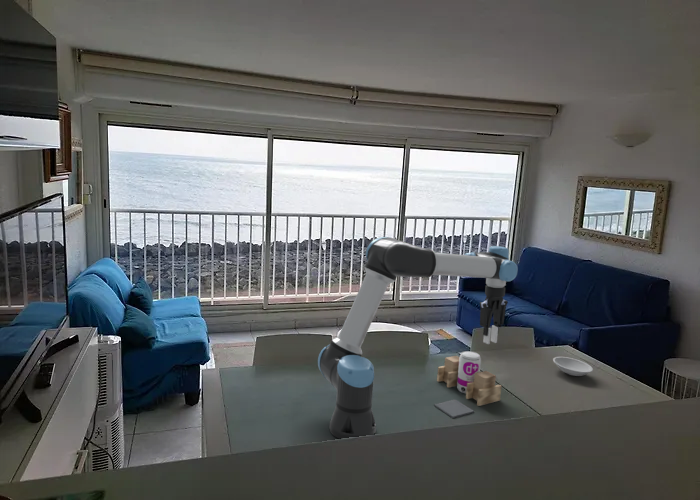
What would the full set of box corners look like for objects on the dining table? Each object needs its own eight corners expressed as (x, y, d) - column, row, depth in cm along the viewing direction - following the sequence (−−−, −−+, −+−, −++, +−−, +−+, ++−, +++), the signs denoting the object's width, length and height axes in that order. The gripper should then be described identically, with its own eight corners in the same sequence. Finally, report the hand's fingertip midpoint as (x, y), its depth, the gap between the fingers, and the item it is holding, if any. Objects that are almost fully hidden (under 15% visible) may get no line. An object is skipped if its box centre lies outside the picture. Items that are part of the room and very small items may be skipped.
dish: (599, 381, 210) (601, 370, 209) (573, 384, 205) (575, 373, 204) (568, 365, 226) (570, 355, 226) (543, 368, 222) (545, 358, 221)
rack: (478, 405, 181) (481, 380, 180) (436, 380, 202) (438, 357, 200) (500, 400, 187) (502, 375, 185) (457, 376, 207) (459, 354, 206)
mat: (452, 418, 171) (452, 416, 171) (434, 405, 180) (434, 404, 179) (473, 412, 176) (473, 410, 176) (454, 400, 185) (455, 399, 184)
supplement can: (478, 396, 190) (482, 359, 187) (456, 393, 191) (460, 356, 189) (477, 387, 197) (480, 352, 195) (456, 384, 199) (459, 349, 197)
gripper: (487, 289, 185) (481, 348, 189) (517, 286, 194) (511, 342, 197) (473, 284, 192) (468, 342, 196) (503, 282, 200) (497, 337, 204)
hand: (489, 342), depth 196 cm, fingers open, 3 cm apart
